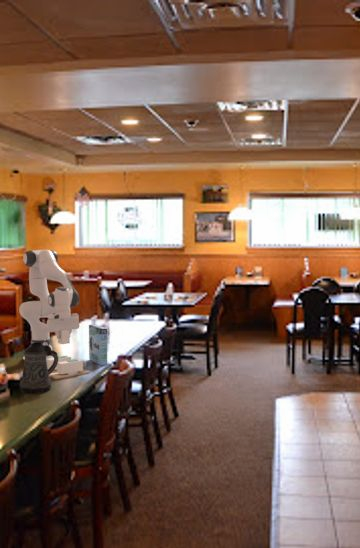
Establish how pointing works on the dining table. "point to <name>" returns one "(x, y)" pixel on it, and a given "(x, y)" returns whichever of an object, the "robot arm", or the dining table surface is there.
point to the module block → (64, 337)
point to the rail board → (66, 367)
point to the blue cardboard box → (98, 344)
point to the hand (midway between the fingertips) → (63, 337)
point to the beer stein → (37, 369)
